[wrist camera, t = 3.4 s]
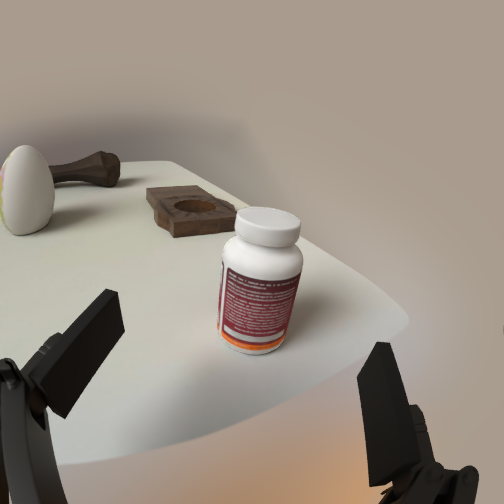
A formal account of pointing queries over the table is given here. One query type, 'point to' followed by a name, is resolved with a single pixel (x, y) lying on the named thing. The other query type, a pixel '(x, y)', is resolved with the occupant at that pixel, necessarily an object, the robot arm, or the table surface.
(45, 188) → the decorative egg
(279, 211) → the pill bottle
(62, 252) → the table surface
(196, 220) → the plate
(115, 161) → the dark brown bone
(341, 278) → the table surface
